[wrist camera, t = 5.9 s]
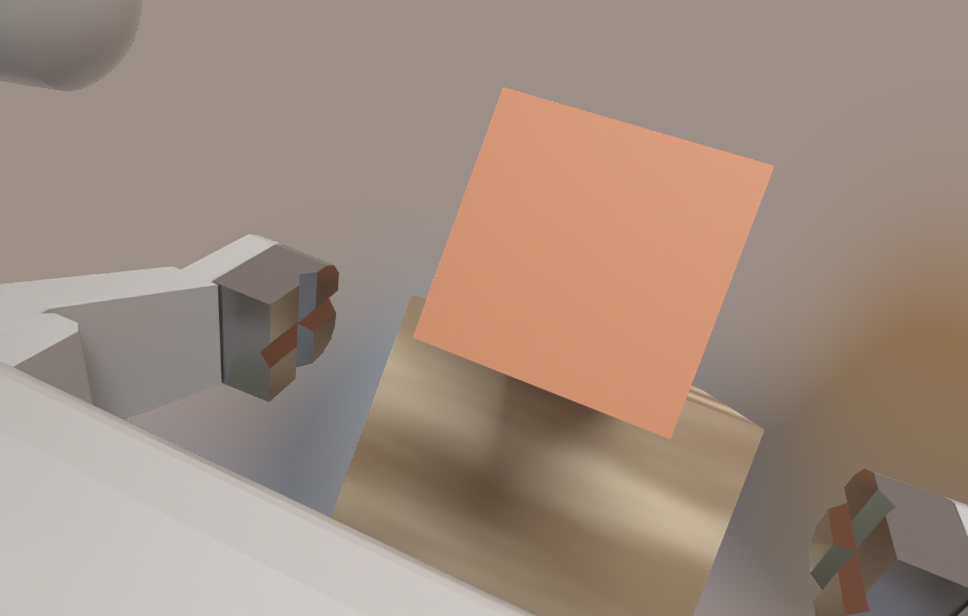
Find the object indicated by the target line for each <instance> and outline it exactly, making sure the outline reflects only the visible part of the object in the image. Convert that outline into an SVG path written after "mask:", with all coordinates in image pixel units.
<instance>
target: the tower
mask: <svg viewBox="0 0 968 616" xmlns="http://www.w3.org/2000/svg"><path fill="white" fill-rule="evenodd" d="M425 302H426V298H421V297H415V296H411V298H410V301H409V303H408V306H407V309H406V312H405V314H404V317H403V320H402V323H401V326H400V328H399V331H398V334H397V337H396V339H395V342H394V345H393V348H392V351H391V353H390V356H389V359H388V362H387V364H386V367H385V370H384V373H383V375H382V378H381V381H380V384H379V386H378V389H377V392H376V395H375V398H374V400H373V403H372V406H371V409H370V411H369V414H368V417H367V420H366V422H365V425H364V428H363V431H362V434H361V436H360V439H359V442H358V444H357V447H356V450H355V453H354V455H353V459H352V461H351V464H350V467H349V469H348V472H347V475H346V478H345V481H344V483H343V486H342V489H341V491H340V494H339V497H338V500H337V502H336V506H335V508H334V511H333V514H332V516H331V518H332V519H334V520H337V521H339V522H341V523H343V524H345V525H347V526H349V527H351V528H354V529H356V530H358V531H360V532H362V533H364V534H366V535H368V536H370V537H373V538H375V539H377V540H379V541H381V542H383V543H385V544H387V545H389V546H392V547H394V548H396V549H398V550H400V551H402V552H404V553H406V554H408V555H410V556H413V557H415V558H417V559H419V560H421V561H423V562H425V563H427V564H429V565H432V566H434V567H436V568H438V569H440V570H442V571H444V572H446V573H448V574H450V575H453V576H455V577H457V578H459V579H461V580H463V581H465V582H467V583H469V584H472V585H474V586H476V587H478V588H480V589H482V590H484V591H486V592H488V593H490V594H493V595H495V596H497V597H499V598H501V599H503V600H505V601H507V602H509V603H511V604H514V605H516V606H518V607H520V608H522V609H524V610H526V611H528V612H530V613H533V614H535V615H537V616H693V614H694V611H695V609H696V606H697V604H698V601H699V598H700V596H701V593H702V591H703V588H704V585H705V583H706V580H707V577H708V575H709V572H710V570H711V567H712V564H713V562H714V559H715V557H716V554H717V552H718V549H719V546H720V544H721V541H722V539H723V536H724V533H725V531H726V528H727V526H728V523H729V520H730V518H731V515H732V513H733V510H734V507H735V505H736V502H737V500H738V497H739V494H740V492H741V489H742V486H743V484H744V481H745V478H746V476H747V474H748V471H749V468H750V466H751V463H752V461H753V458H754V455H755V453H756V450H757V448H758V445H759V442H760V440H761V437H762V435H763V432H764V429H762V428H761V427H759V426H758V425H756V424H755V423H753V422H752V421H750V420H748V419H747V418H745V417H744V416H742V415H740V414H739V413H737V412H736V411H734V410H732V409H731V408H729V407H728V406H726V405H725V404H723V403H722V402H720V401H718V400H717V399H715V398H714V397H712V396H711V395H709V394H707V393H706V392H704V391H703V390H701V389H700V388H698V387H696V386H695V385H693V384H691V387H690V390H689V392H688V395H687V397H686V400H685V403H684V405H683V408H682V411H681V413H680V416H679V419H678V421H677V424H676V426H675V429H674V432H673V434H672V437H671V439H668V438H666V437H663V436H661V435H658V434H656V433H653V432H650V431H648V430H645V429H643V428H640V427H638V426H635V425H633V424H630V423H628V422H625V421H623V420H620V419H618V418H615V417H612V416H610V415H607V414H605V413H602V412H600V411H597V410H595V409H592V408H590V407H587V406H585V405H582V404H580V403H577V402H575V401H572V400H569V399H567V398H564V397H562V396H559V395H557V394H554V393H552V392H549V391H547V390H544V389H542V388H539V387H537V386H534V385H532V384H529V383H526V382H524V381H521V380H519V379H516V378H514V377H511V376H509V375H506V374H504V373H501V372H499V371H496V370H494V369H491V368H488V367H486V366H483V365H481V364H478V363H476V362H473V361H471V360H468V359H466V358H463V357H461V356H458V355H456V354H453V353H451V352H448V351H445V350H443V349H440V348H438V347H435V346H433V345H430V344H428V343H425V342H423V341H420V340H418V339H415V338H413V335H414V332H415V330H416V327H417V324H418V321H419V319H420V316H421V313H422V310H423V308H424V305H425Z"/></svg>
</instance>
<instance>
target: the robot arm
mask: <svg viewBox="0 0 968 616" xmlns="http://www.w3.org/2000/svg"><path fill="white" fill-rule="evenodd" d="M141 8H142V0H0V81H5V82H11V83H16V84H21V85H28V86H35V87H41V88H48V89H54V90H61V91H75V90H79V89H83V88H85V87H88V86H90V85H92V84H93V83H95V82H97V81H99V80H100V79H102V78H103V77H105V76H106V75H107V74H108V73H110V72H111V71H112V70H113V69H114V68H115V67H116V66H117V65H118V64H119V63H120V62H121V61H122V59H123V58H124V57H125V55H126V54H127V52H128V51H129V49H130V47H131V45H132V43H133V41H134V39H135V36H136V33H137V30H138V26H139V21H140V16H141ZM338 276H339V272H338V271H337V269H336V267H335V266H334V265H332V264H329V263H327V262H325V261H322V260H320V259H317V258H315V257H312V256H310V255H307V254H305V253H303V252H300V251H298V250H295V249H293V248H290V247H288V246H285V245H281V244H280V243H278V242H275V241H273V240H270V239H267V238H265V237H262V236H259V235H253V234H249V235H247V236H245V237H243V238H241V239H239V240H237V241H235V242H233V243H231V244H229V245H227V246H226V247H224V248H222V249H220V250H218V251H216V252H214V253H212V254H210V255H208V256H206V257H204V258H203V259H201V260H199V261H197V262H195V263H193V264H191V265H189V266H187V267H185V268H183V269H181V270H180V269H178V268H175V267H163V268H153V269H144V270H134V271H125V272H115V273H105V274H95V275H86V276H76V277H66V278H56V279H47V280H37V281H28V282H18V283H8V284H0V616H537V615H535V614H533V613H530V612H528V611H526V610H524V609H522V608H520V607H518V606H516V605H514V604H511V603H509V602H507V601H505V600H503V599H501V598H499V597H497V596H495V595H493V594H490V593H488V592H486V591H484V590H482V589H480V588H478V587H476V586H474V585H472V584H469V583H467V582H465V581H463V580H461V579H459V578H457V577H455V576H453V575H450V574H448V573H446V572H444V571H442V570H440V569H438V568H436V567H434V566H432V565H429V564H427V563H425V562H423V561H421V560H419V559H417V558H415V557H413V556H410V555H408V554H406V553H404V552H402V551H400V550H398V549H396V548H394V547H392V546H389V545H387V544H385V543H383V542H381V541H379V540H377V539H375V538H373V537H370V536H368V535H366V534H364V533H362V532H360V531H358V530H356V529H354V528H351V527H349V526H347V525H345V524H343V523H341V522H339V521H337V520H334V519H332V518H330V517H328V516H326V515H324V514H322V513H320V512H317V511H315V510H313V509H311V508H309V507H307V506H305V505H303V504H301V503H299V502H296V501H294V500H292V499H290V498H288V497H286V496H284V495H281V494H279V493H277V492H275V491H273V490H271V489H269V488H267V487H265V486H263V485H260V484H258V483H256V482H254V481H252V480H250V479H248V478H246V477H243V476H241V475H239V474H237V473H235V472H233V471H231V470H229V469H227V468H225V467H222V466H220V465H218V464H216V463H214V462H212V461H210V460H208V459H205V458H203V457H201V456H199V455H197V454H195V453H193V452H191V451H188V450H186V449H184V448H182V447H180V446H178V445H176V444H174V443H172V442H170V441H168V440H165V439H164V438H161V437H159V436H157V435H155V434H153V433H151V432H149V431H147V430H145V429H143V428H140V427H138V426H136V425H134V424H132V423H130V422H128V421H126V420H124V419H125V418H128V417H131V416H134V415H137V414H140V413H143V412H146V411H149V410H151V409H154V408H157V407H160V406H163V405H166V404H169V403H172V402H175V401H178V400H181V399H184V398H186V397H190V396H193V395H196V394H199V393H202V392H204V391H207V390H210V389H213V388H216V387H219V386H221V385H222V383H224V384H226V385H228V386H231V387H233V388H236V389H238V390H241V391H243V392H246V393H248V394H251V395H253V396H255V397H258V398H260V399H263V400H265V401H268V402H270V401H271V400H272V399H273V398H274V397H275V396H276V395H278V394H279V393H280V392H281V391H282V390H283V389H284V388H285V387H287V386H288V385H289V384H290V383H291V382H292V381H293V380H294V379H295V375H296V367H299V366H303V365H308V364H311V363H313V362H314V361H315V360H316V359H317V358H318V357H319V356H320V355H321V354H322V353H323V351H324V350H325V348H326V346H327V345H328V343H329V341H330V340H331V337H332V334H333V330H334V327H335V319H336V312H335V310H334V308H333V306H332V304H331V302H330V300H329V298H330V297H331V296H332V295H333V294H334V293H335V292H336V291H338V278H339V277H338ZM845 493H846V499H847V503H846V504H843V505H840V506H836V507H833V508H830V509H828V510H827V511H826V513H825V514H824V516H823V517H822V519H821V520H820V522H819V523H818V524H817V527H816V529H815V532H814V535H813V538H812V541H811V544H810V553H809V563H810V573H811V575H812V576H813V578H814V579H815V580H816V582H817V583H818V584H819V586H820V587H821V589H822V591H821V592H820V594H819V595H818V596H817V597H816V599H815V600H814V609H815V616H968V505H966V504H963V503H960V502H957V501H954V500H952V499H949V498H946V497H945V498H944V497H941V496H938V495H936V494H933V493H930V492H927V491H925V490H922V489H919V488H916V487H913V486H911V485H908V484H905V483H903V482H900V481H897V480H894V479H892V478H889V477H886V476H883V475H881V474H877V473H875V472H872V471H870V470H867V469H863V470H861V471H860V472H858V473H857V474H855V475H854V476H853V478H852V479H851V480H850V481H849V482H848V484H847V485H846V486H845Z"/></svg>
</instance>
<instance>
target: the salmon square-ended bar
mask: <svg viewBox="0 0 968 616" xmlns="http://www.w3.org/2000/svg"><path fill="white" fill-rule="evenodd" d="M773 168H774V166H773V165H769V164H766V163H762V162H759V161H756V160H752V159H749V158H745V157H742V156H738V155H735V154H731V153H728V152H725V151H721V150H718V149H714V148H711V147H707V146H704V145H701V144H697V143H694V142H690V141H687V140H683V139H680V138H676V137H673V136H670V135H666V134H663V133H659V132H656V131H652V130H649V129H645V128H642V127H638V126H635V125H632V124H628V123H625V122H622V121H618V120H615V119H611V118H607V117H604V116H601V115H597V114H594V113H591V112H587V111H584V110H580V109H577V108H573V107H570V106H566V105H563V104H560V103H556V102H552V101H549V100H546V99H542V98H539V97H535V96H532V95H528V94H525V93H521V92H518V91H515V90H511V89H508V88H505V87H503V90H502V93H501V95H500V98H499V101H498V103H497V106H496V109H495V112H494V115H493V117H492V120H491V123H490V126H489V129H488V131H487V134H486V137H485V139H484V142H483V145H482V148H481V150H480V154H479V156H478V159H477V161H476V165H475V167H474V170H473V172H472V175H471V178H470V181H469V183H468V186H467V189H466V192H465V194H464V197H463V200H462V203H461V206H460V208H459V211H458V214H457V217H456V219H455V222H454V225H453V228H452V230H451V233H450V236H449V239H448V241H447V244H446V247H445V250H444V252H443V255H442V258H441V261H440V264H439V266H438V269H437V272H436V274H435V277H434V280H433V283H432V285H431V288H430V291H429V294H428V297H427V299H426V302H425V305H424V308H423V310H422V313H421V316H420V319H419V321H418V324H417V327H416V330H415V332H414V335H413V338H415V339H418V340H420V341H423V342H425V343H428V344H430V345H433V346H435V347H438V348H440V349H443V350H445V351H448V352H451V353H453V354H456V355H458V356H461V357H463V358H466V359H468V360H471V361H473V362H476V363H478V364H481V365H483V366H486V367H488V368H491V369H494V370H496V371H499V372H501V373H504V374H506V375H509V376H511V377H514V378H516V379H519V380H521V381H524V382H526V383H529V384H532V385H534V386H537V387H539V388H542V389H544V390H547V391H549V392H552V393H554V394H557V395H559V396H562V397H564V398H567V399H569V400H572V401H575V402H577V403H580V404H582V405H585V406H587V407H590V408H592V409H595V410H597V411H600V412H602V413H605V414H607V415H610V416H612V417H615V418H618V419H620V420H623V421H625V422H628V423H630V424H633V425H635V426H638V427H640V428H643V429H645V430H648V431H650V432H653V433H656V434H658V435H661V436H663V437H666V438H668V439H671V437H672V434H673V432H674V429H675V426H676V424H677V421H678V419H679V416H680V413H681V411H682V408H683V405H684V403H685V400H686V397H687V395H688V392H689V390H690V387H691V384H692V382H693V379H694V376H695V374H696V371H697V369H698V366H699V363H700V361H701V358H702V355H703V353H704V350H705V347H706V345H707V342H708V340H709V337H710V334H711V332H712V329H713V326H714V324H715V321H716V318H717V316H718V313H719V311H720V308H721V305H722V303H723V300H724V297H725V295H726V292H727V289H728V286H729V284H730V281H731V279H732V276H733V274H734V271H735V268H736V266H737V263H738V260H739V258H740V255H741V253H742V250H743V247H744V245H745V242H746V239H747V237H748V234H749V231H750V229H751V226H752V223H753V221H754V218H755V215H756V213H757V210H758V208H759V205H760V202H761V200H762V197H763V194H764V192H765V189H766V187H767V184H768V181H769V179H770V176H771V173H772V171H773Z"/></svg>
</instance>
